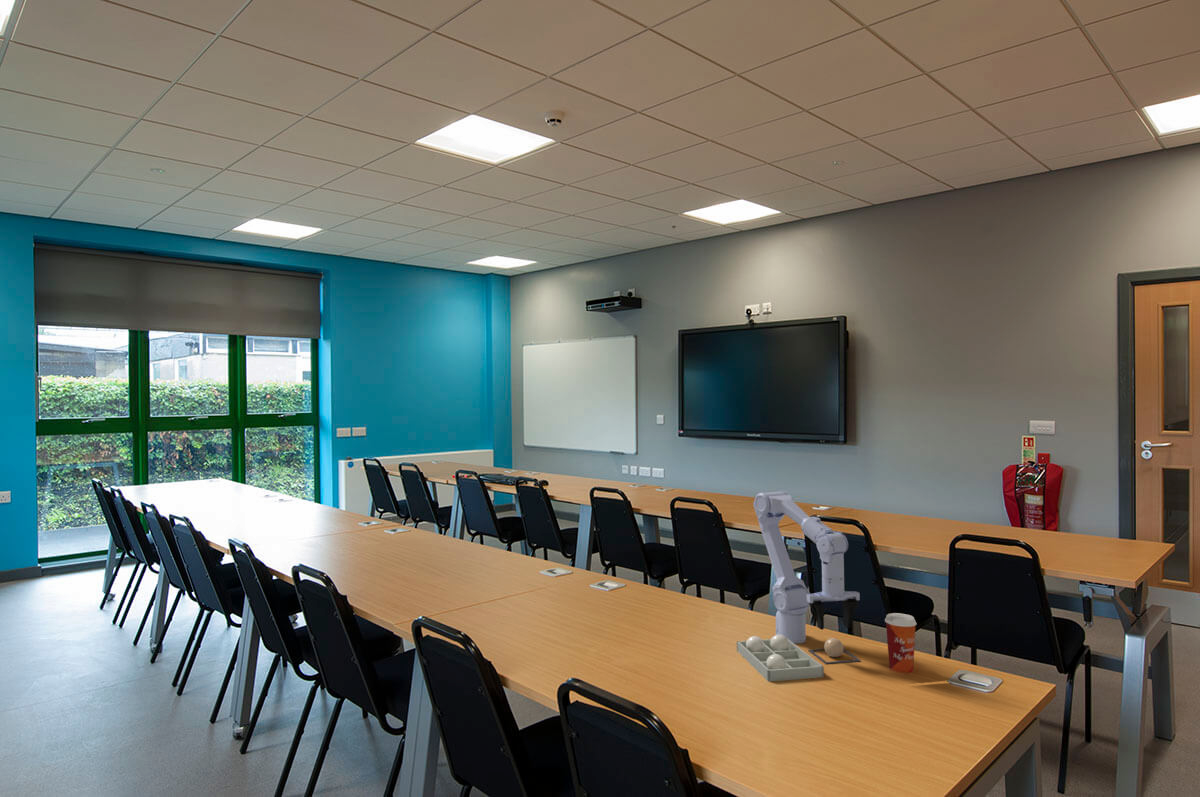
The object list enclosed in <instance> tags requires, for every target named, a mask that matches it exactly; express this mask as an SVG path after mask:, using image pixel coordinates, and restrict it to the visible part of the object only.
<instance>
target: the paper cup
mask: <svg viewBox="0 0 1200 797" xmlns="http://www.w3.org/2000/svg"><path fill="white" fill-rule="evenodd" d="M884 622H885V628H886V638H887V640H886V641H887V642H886V643H887V652H888V665H889V669H890V670H892V671H894V672H897V673H904V674H907V673H913V671H914V666H915V664H914V662H915V660H914V659H915V642H916V641H915V640H916V639H915V638H916V626H917V625H918V624H917V622H916V619H915V617H914V616H913V615H910V614H905V613H901V612H900V613H899V612H898V613H897V612H893V613H888V614H886V617H885V619H884Z"/></svg>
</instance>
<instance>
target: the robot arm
mask: <svg viewBox="0 0 1200 797" xmlns="http://www.w3.org/2000/svg"><path fill="white" fill-rule="evenodd" d="M753 507H754V508H753V509H754V512H755V514H756V517H757V521H758V525H759V528H760V532H761V535H762V538H763V541H764V543H765V547H766V550H767V553H768V556H769V559H770V562H771V565H772V568H773V571H774V574H775V578H776V581H775V583H774V585H773V586H772V588H771V590H772V594H773V603H774V606H775V608H776V610H777V611H776V614H775V635H777V634H780V635H783V636H785V637H786V638H787V639H789V640H790V641H791V642H793V643H794V644H803V643H805V642H806V641H807V638H806V636H807V633H806V632H807V631H806V612H808V608H809V607H810V608H811V610H812V612H813V614H814V617H815V621H816V625H817V628H818V629H820V630H824V628H825V622H824V621H825V619H824V618H825V609H826V606H825V605H824V604H823V602H838V601H840V602H841V607H842V615H843V616H842V619H843V620H842V621H843V622H842V623H843V626H844V627H845V628H847V629H849V628H851V623H852V620H853V616H854V613H855V612H856V610H857V608H858V607H859V602H858V601H860V600H861V599H860V592H859V591H855V590H854V591H848V590H847V591H846V590H845V563H844V562H845V559H844V555H845V553H846V552H847V551H848V549H849V541H848V538H847V537H846V535H844V533H843V532H841V531H835V530H833V529H832V528H831V527H828V526H827V525H826V523H823V522H822V520H821V518H819V517H818V516H809V515H808V514H807V513H806V512H805V511H804V510H803V509H802V508H801V507H800V506H799V505H798V504H796V502H795V501H794V500H793V496H792V495H790V494H789V493H788V492H787V491H786V490H779V491H772V492H770V491H769V492H758V493H757V494H756V496H755V498H754V501H753ZM785 516H787V517H788V518H789V519H791V520H793V521H794V523H796V524H798V525H799V526H800V527H801V532H802V534H804V535H805V536H806V537H807V538H809V539H810V540H811V541H812V542H813V543H814V544H816V548H817V551H818V553H819V559H820V561H821V591H819V592H814V593H810V591H809V589H808V587H806V584H805V582H804V580H802V579H801V578H799V577H797V576H796V574H795V571H794V568H793V565H792V562H791V560H790V557H789V556H790V555H789V552H788V551H787V547H786V545H785V542H784V541H785V540H784V539H783V535H782V533H781V529H780V526H779V524H780V521H782V520H783V518H785Z"/></svg>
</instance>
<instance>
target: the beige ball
mask: <svg viewBox="0 0 1200 797" xmlns="http://www.w3.org/2000/svg"><path fill="white" fill-rule="evenodd" d="M823 649H825V651H824V652H825V653H826V654H827V655H828V656H829V657H831V658H839V657H840V656H842V655H843V653H844V651H843V650H844V649H845V648H844V644H843V643H842V641H841V640H840V639H838V638H836V637H831V638H828V639H827V640H826V641H825V642H824V646H823Z"/></svg>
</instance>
